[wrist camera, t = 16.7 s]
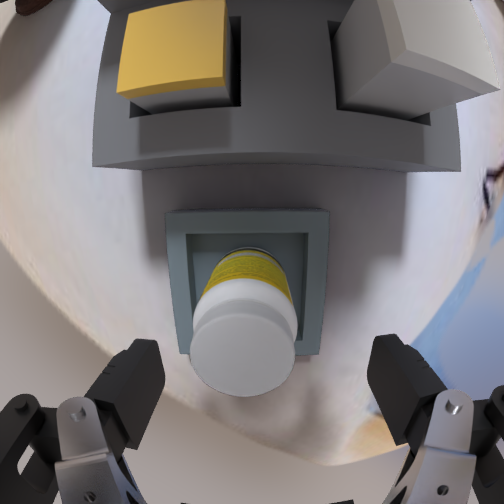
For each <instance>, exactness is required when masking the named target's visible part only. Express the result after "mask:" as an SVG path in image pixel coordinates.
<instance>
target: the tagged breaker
mask: <svg viewBox="0 0 504 504" xmlns="http://www.w3.org/2000/svg"><path fill="white" fill-rule="evenodd" d="M116 93H118V94H119V95H121V96H123V97H125V98H126V99H128V100H130V101H131V102H133V103H135V104H136V105H138V106H140V107H141V108H143V109H144V110H146V111H148V112H149V113H151V114H160V113H168V112H176V111H185V110H195V109H207V108H222V107H238V65H237V60H236V54H235V48H234V43H233V37H232V32H231V26H230V21H229V16H228V10H227V5H226V0H191V1H184V2H178V3H173V4H168V5H163V6H158V7H154V8H149V9H145V10H141V11H138V12H134V13H130V14H129V16H128V21H127V26H126V30H125V36H124V41H123V47H122V53H121V59H120V66H119V74H118V82H117V92H116Z"/></svg>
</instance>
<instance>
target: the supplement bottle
mask: <svg viewBox="0 0 504 504" xmlns="http://www.w3.org/2000/svg"><path fill="white" fill-rule="evenodd" d="M297 328H298V324H297V316H296V313H295V309H294V305H293V302H292V298H291V294H290V290H289V286H288V282H287V279H286V275H285V272H284V269H283V267H282V265H281V264H280V262H279V261H278V260H277V259H276V258H275V257H274V256H273V255H272V254H270V253H269V252H267V251H265V250H263V249H260V248H255V247H243V248H238V249H235V250H233V251H231V252H229V253H227V254H226V255H225V256H223V257H222V258H221V259H220V261H219V262H218V263H217V265H216V266H215V268H214V270H213V273H212V274H211V276H210V279H209V281H208V283H207V284H206V286H205V289H204V291H203V293H202V295H201V297H200V299H199V301H198V303H197V306H196V309H195V312H194V317H193V330H194V334H193V338H192V342H191V345H190V360H191V363H192V366H193V368H194V370H195V372H196V374H197V375H198V376H199V378H200V379H201V380H202V381H203V382H204V383H206V384H207V385H208V386H210V387H211V388H213V389H215V390H217V391H219V392H221V393H224V394H227V395H232V396H239V397H251V396H257V395H261V394H264V393H267V392H269V391H272V390H273V389H275V388H277V387H278V386H280V385H281V384H282V383H283V382H284V381H285V380H286V379H287V378H288V376H289V375H290V373H291V371H292V369H293V366H294V362H295V348H294V342H295V339H296V336H297Z"/></svg>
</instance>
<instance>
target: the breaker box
mask: <svg viewBox="0 0 504 504" xmlns="http://www.w3.org/2000/svg"><path fill="white" fill-rule="evenodd" d="M98 1H99V2H100V3H101V4H102V5H103V6H104V7H105V8H106V9H107V10H108V11H109V12H110V13H111V16H110V20H109V24H108V28H107V32H106V37H105V41H104V46H103V51H102V57H101V63H100V69H99V76H98V83H97V91H96V101H95V112H94V126H93V153H92V167H105V168H119V169H132V170H149V169H159V168H171V167H184V166H201V165H222V164H310V165H332V166H348V167H361V168H372V169H383V170H392V171H401V172H461V156H460V139H459V127H458V118H457V110H456V103H455V104H452V105H449V106H446V107H443V108H440V109H437V110H434V111H431V112H428V113H426V114H423V115H420V116H417V117H415V118H412V119H409V120H401V119H396V118H390V117H384V116H378V115H372V114H365V113H358V112H350V111H341V110H336V96H335V83H334V72H333V62H332V53H331V45H330V43H331V41H332V40H333V38H334V36H335V34H336V32H337V30H338V29H339V27H340V25H341V23H342V21H343V20H344V18H345V16H346V14H347V12H348V11H349V9H350V7H351V5H352V4H353V2H354V0H226V5H227V10H228V16H229V21H230V26H231V32H232V37H233V43H234V48H235V54H236V60H237V64H241V107H222V108H207V109H195V110H185V111H176V112H168V113H160V114H151V113H149V112H148V111H146V110H144V109H143V108H141V107H140V106H138V105H136V104H135V103H133V102H131V101H130V100H128V99H126V98H125V97H123V96H121V95H119V94H118V93H116V92H117V82H118V74H119V66H120V59H121V53H122V47H123V41H124V36H125V30H126V26H127V21H128V16H129V14H130V13H134V12H138V11H141V10H145V9H149V8H154V7H158V6H163V5H168V4H173V3H178V2H184V1H191V0H98ZM470 1H471V0H470Z"/></svg>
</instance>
